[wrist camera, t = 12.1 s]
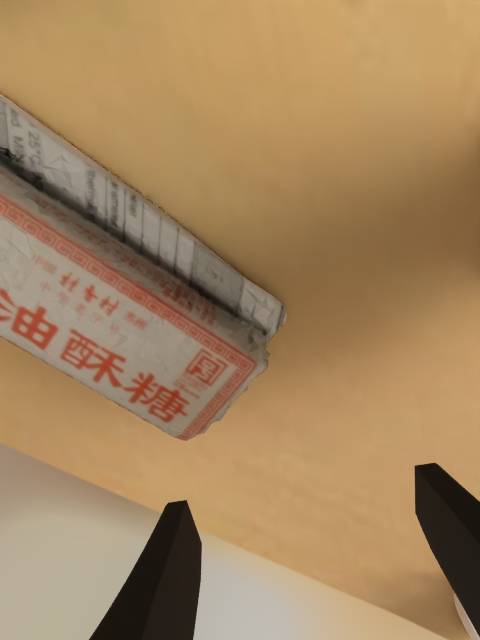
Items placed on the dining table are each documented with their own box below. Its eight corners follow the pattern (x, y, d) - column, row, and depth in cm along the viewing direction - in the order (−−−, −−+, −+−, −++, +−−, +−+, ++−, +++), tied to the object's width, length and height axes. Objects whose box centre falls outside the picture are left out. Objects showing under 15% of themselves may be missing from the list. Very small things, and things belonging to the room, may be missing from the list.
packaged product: (308, 342, 15) (180, 482, 18) (292, 303, 20) (191, 421, 23) (-132, 29, 11) (-202, 279, 14) (-25, 70, 15) (-96, 253, 19)
